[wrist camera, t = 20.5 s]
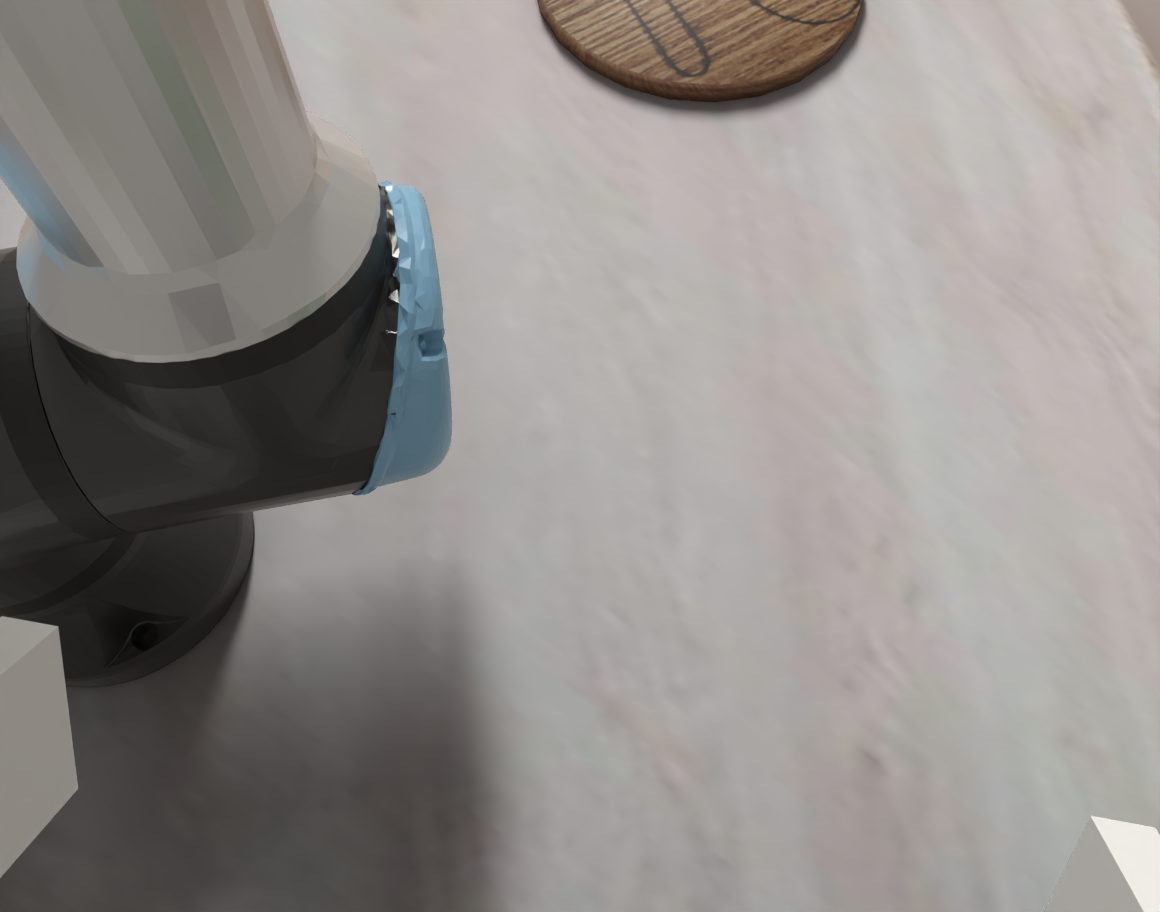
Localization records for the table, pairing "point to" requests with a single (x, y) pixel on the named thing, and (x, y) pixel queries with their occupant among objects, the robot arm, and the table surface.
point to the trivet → (702, 42)
